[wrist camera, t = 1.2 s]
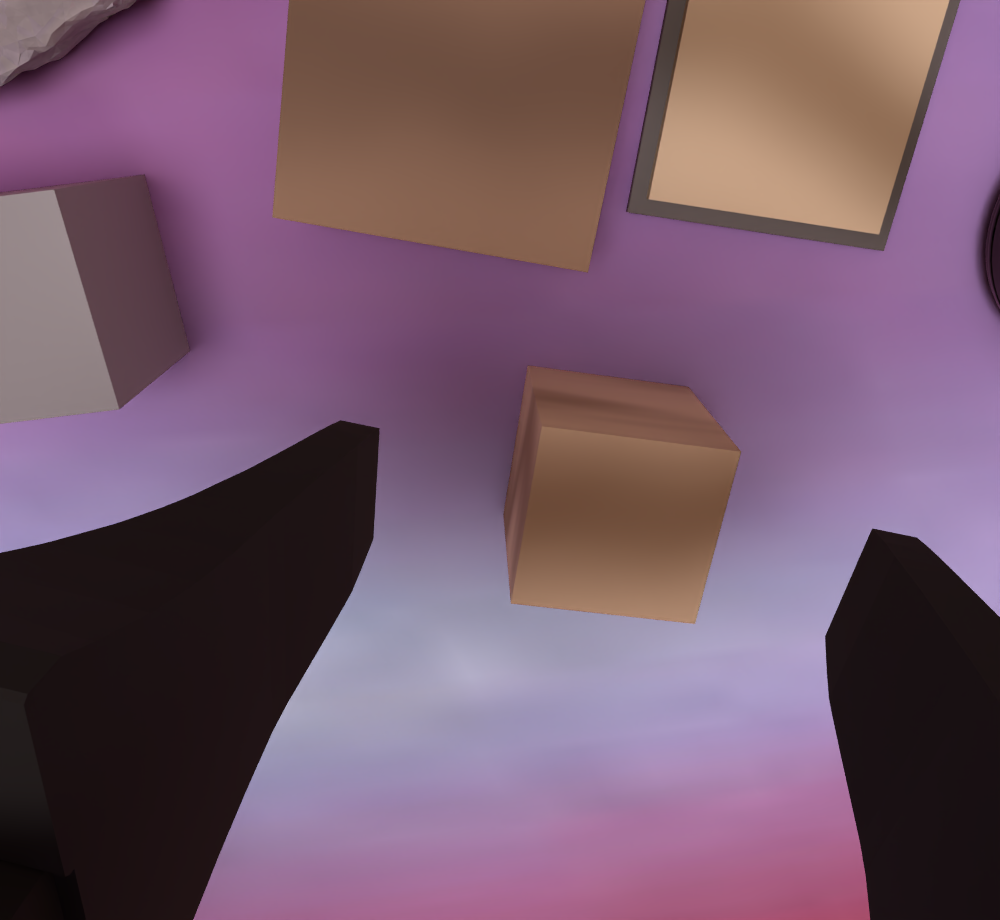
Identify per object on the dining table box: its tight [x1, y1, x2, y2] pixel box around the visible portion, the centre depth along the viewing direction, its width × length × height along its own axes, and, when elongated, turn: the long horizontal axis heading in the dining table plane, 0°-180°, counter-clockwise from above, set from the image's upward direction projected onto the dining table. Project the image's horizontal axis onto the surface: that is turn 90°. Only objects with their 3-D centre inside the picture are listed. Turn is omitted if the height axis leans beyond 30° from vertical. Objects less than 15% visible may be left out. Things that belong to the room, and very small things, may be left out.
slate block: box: [0, 175, 190, 424], centre depth 20 cm, size 4×4×5 cm
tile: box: [626, 0, 960, 251], centre depth 21 cm, size 7×7×1 cm
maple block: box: [503, 366, 741, 624], centre depth 22 cm, size 4×4×5 cm
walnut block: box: [273, 0, 645, 272], centre depth 19 cm, size 7×7×4 cm
